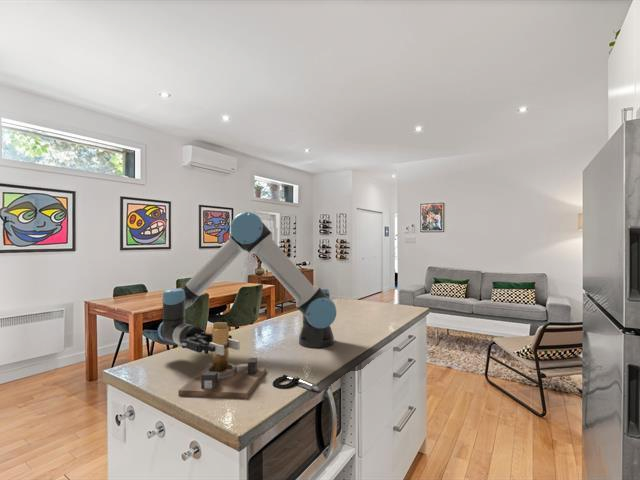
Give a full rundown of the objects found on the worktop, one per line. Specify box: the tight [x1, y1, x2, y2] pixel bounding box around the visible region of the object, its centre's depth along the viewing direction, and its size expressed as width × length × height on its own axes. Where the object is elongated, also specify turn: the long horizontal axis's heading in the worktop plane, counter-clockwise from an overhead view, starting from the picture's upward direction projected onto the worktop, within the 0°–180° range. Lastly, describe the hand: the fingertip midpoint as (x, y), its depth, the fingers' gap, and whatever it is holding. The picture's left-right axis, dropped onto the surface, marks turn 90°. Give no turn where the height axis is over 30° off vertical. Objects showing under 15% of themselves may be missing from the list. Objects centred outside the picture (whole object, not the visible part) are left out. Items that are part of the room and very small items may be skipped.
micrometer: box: [272, 374, 320, 392], centre depth 97 cm, size 15×7×3 cm, turn 49°
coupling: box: [211, 321, 230, 372], centre depth 105 cm, size 5×5×15 cm
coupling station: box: [177, 357, 267, 399], centre depth 101 cm, size 20×19×5 cm
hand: (231, 348), depth 102 cm, fingers closed on coupling, 5 cm apart
